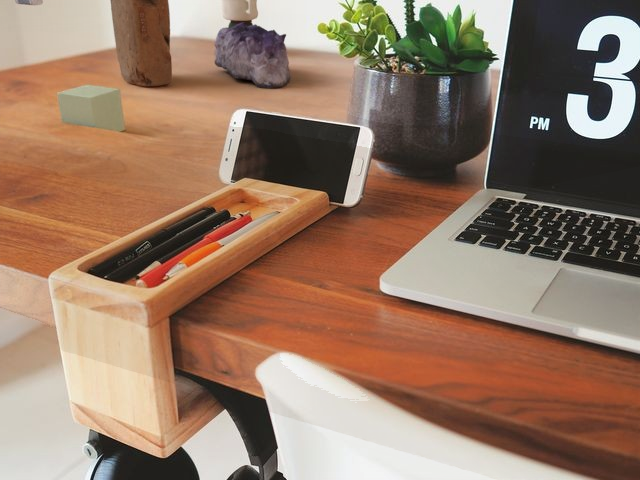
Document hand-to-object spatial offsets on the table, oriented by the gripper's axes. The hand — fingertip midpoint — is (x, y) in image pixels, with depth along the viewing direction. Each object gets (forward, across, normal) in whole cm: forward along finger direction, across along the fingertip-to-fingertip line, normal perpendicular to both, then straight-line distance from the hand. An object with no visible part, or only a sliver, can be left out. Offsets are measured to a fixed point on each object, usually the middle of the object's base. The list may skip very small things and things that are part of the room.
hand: (29, 4), depth 92 cm
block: (+16, -5, +27) cm, 32 cm away
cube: (+16, +8, -1) cm, 17 cm away
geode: (+16, +9, +40) cm, 45 cm away
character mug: (+17, -6, +59) cm, 62 cm away
